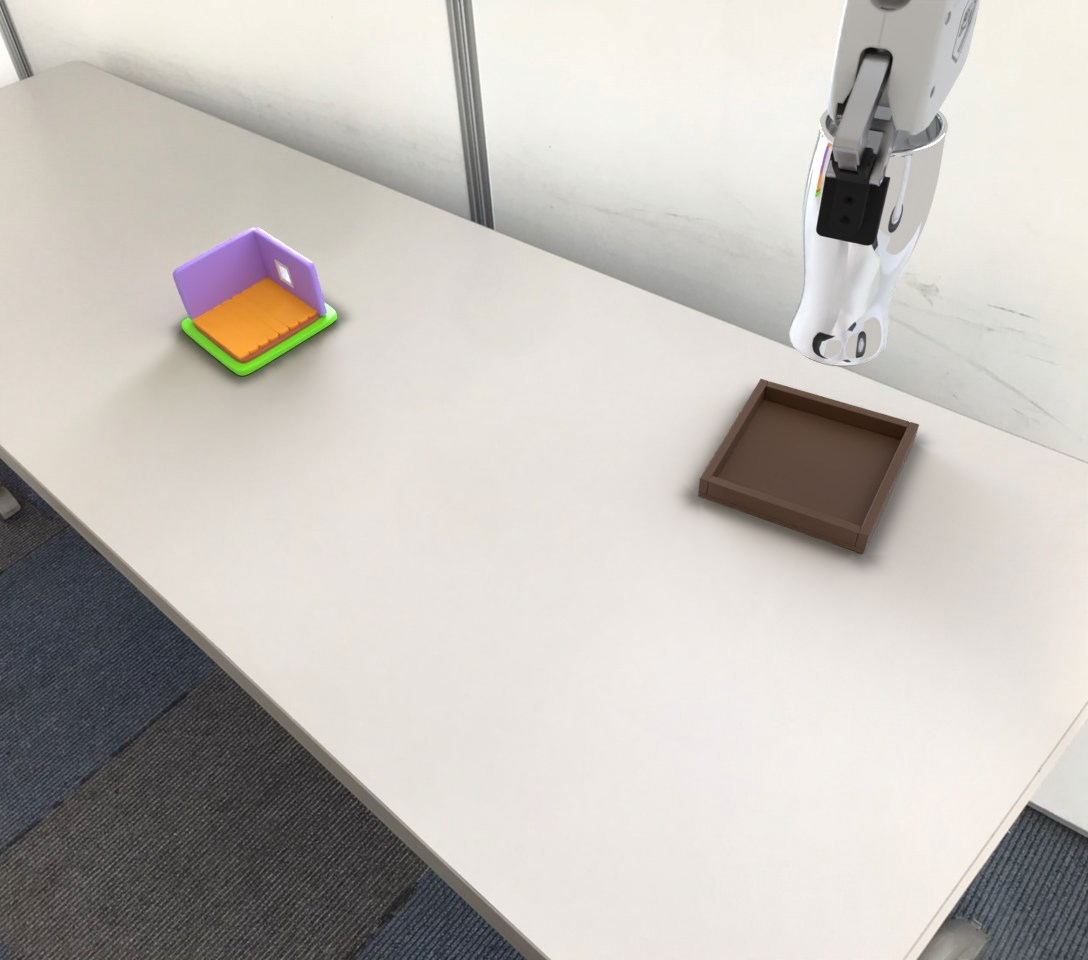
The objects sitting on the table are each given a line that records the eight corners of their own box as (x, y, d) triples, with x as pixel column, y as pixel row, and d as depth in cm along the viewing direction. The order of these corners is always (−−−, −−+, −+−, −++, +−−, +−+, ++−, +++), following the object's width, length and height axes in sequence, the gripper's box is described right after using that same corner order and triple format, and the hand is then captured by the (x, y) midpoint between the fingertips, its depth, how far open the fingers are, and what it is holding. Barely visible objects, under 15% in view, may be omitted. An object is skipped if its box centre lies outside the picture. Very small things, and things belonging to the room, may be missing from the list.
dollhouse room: (275, 272, 102) (257, 215, 97) (342, 318, 95) (328, 259, 90) (177, 328, 98) (154, 271, 93) (241, 380, 91) (220, 322, 86)
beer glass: (824, 291, 67) (865, 80, 56) (916, 333, 63) (979, 115, 52) (759, 340, 65) (788, 129, 54) (851, 387, 61) (903, 169, 50)
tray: (913, 442, 76) (919, 423, 74) (863, 554, 69) (868, 536, 68) (757, 396, 81) (760, 378, 80) (697, 496, 75) (699, 478, 73)
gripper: (983, -69, 38) (888, 303, 51) (1072, -202, 47) (973, 142, 60) (790, -82, 41) (748, 270, 54) (909, -204, 50) (848, 122, 63)
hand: (867, 200), depth 57 cm, fingers closed on beer glass, 7 cm apart
